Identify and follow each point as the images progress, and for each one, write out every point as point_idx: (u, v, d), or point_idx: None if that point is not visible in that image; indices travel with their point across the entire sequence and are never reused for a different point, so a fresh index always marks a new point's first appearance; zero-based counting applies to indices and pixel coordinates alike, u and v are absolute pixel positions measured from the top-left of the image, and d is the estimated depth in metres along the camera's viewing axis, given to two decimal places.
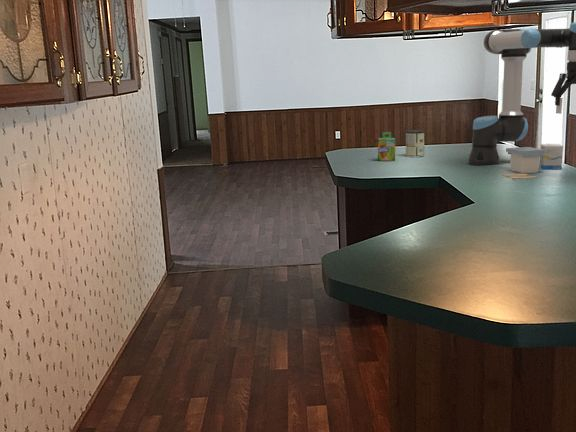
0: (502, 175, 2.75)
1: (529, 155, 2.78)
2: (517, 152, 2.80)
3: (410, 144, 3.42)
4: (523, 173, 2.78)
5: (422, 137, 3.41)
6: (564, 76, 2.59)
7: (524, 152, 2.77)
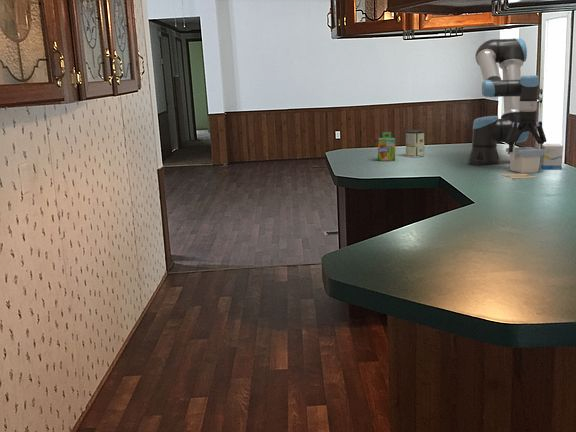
0: (502, 175, 2.75)
1: (529, 155, 2.78)
2: (517, 152, 2.80)
3: (410, 144, 3.42)
4: (523, 173, 2.78)
5: (422, 137, 3.41)
6: (515, 125, 2.79)
7: (524, 152, 2.78)
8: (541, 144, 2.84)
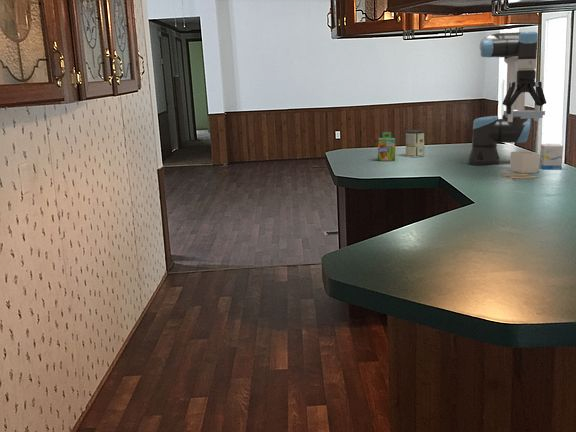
0: (502, 175, 2.75)
1: (528, 116, 2.62)
2: (515, 113, 2.64)
3: (410, 144, 3.42)
4: (523, 173, 2.78)
5: (422, 137, 3.41)
6: (513, 85, 2.63)
7: (523, 113, 2.61)
8: (541, 106, 2.69)
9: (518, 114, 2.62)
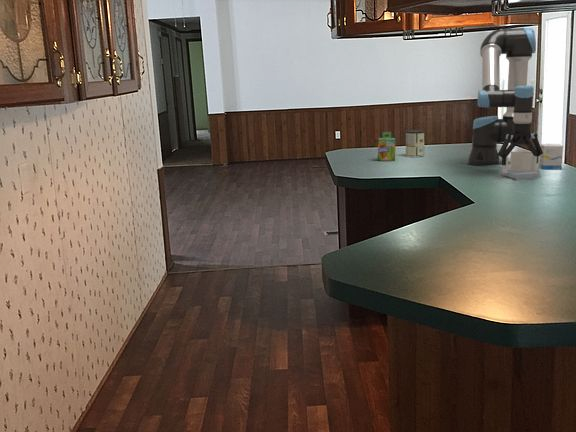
0: (502, 175, 2.75)
1: (523, 178, 2.67)
2: (510, 175, 2.68)
3: (410, 144, 3.42)
4: None
5: (422, 137, 3.41)
6: (509, 137, 2.66)
7: (518, 175, 2.66)
8: (537, 156, 2.72)
9: (513, 176, 2.66)
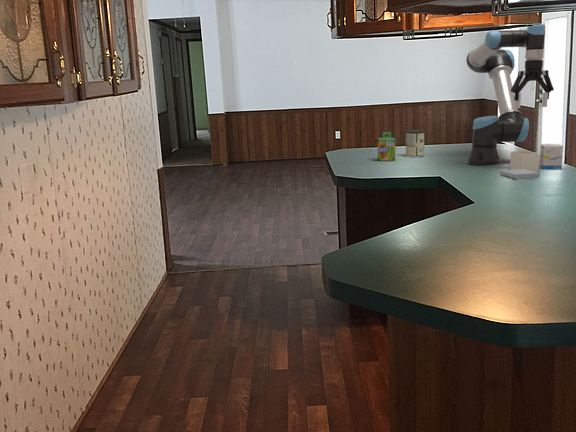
0: (502, 175, 2.75)
1: (523, 178, 2.67)
2: (510, 175, 2.68)
3: (410, 144, 3.42)
4: None
5: (422, 137, 3.41)
6: (522, 73, 2.81)
7: (518, 175, 2.66)
8: (548, 93, 2.86)
9: (513, 176, 2.66)
